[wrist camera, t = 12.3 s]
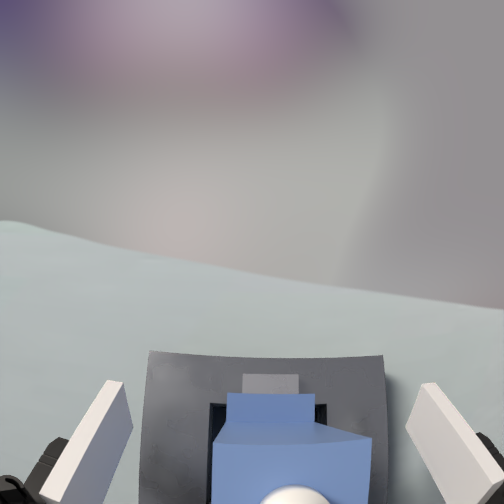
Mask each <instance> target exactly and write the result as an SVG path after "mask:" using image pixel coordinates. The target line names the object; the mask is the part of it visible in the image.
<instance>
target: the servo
mask: <svg viewBox="0 0 504 504" xmlns="http://www.w3.org/2000/svg"><path fill="white" fill-rule="evenodd" d="M314 419H315V394H248V393H227V411H226V422H225V424H224V426H223V427H222V429H221V431H220V432H219V434H218V436H217V437H216V439H215V440H214V442H213V458H212V496H211V504H368V494H369V482H370V468H371V448H372V438H370V437H366V436H362V435H358V434H354V433H350V432H347V431H343V430H340V429H336V428H333V427H329V426H326V425H323V424H319V423H316V422H314Z"/></svg>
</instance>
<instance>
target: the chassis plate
mask: <svg viewBox="0 0 504 504" xmlns="http://www.w3.org/2000/svg"><path fill="white" fill-rule="evenodd" d="M227 393H248V394H315V407H317V423H319V424H323V425H326V426H329V427H333V428H336V429H340V430H343V431H347V432H350V433H354V434H358V435H362V436H366V437H370V438H372V448H371V468H370V482H369V494H368V504H387V496H388V420H387V400H386V385H385V372H384V361H383V355H380V356H364V357H342V358H243V357H221V356H205V355H191V354H179V353H168V352H158V351H149V359H148V367H147V376H146V386H145V396H144V406H143V418H142V432H141V447H140V468H139V504H211V501H210V477H211V449H212V426H213V406H221V407H227Z"/></svg>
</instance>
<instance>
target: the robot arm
mask: <svg viewBox="0 0 504 504" xmlns="http://www.w3.org/2000/svg"><path fill="white" fill-rule="evenodd" d="M405 428H406V430H407V432H408V433H409V435H410V437H411V439H412V441H413V442H414V444H415V446H416V448H417V450H418V451H419V453H420V455H421V457H422V459H423V461H424V462H425V464H426V466H427V468H428V470H429V472H430V474H431V475H432V477H433V479H434V481H435V483H436V485H437V487H438V489H439V491H440V493H441V494H442V496H443V498H444V500H445V502H446V504H504V457H503V456H502V455H501V454H500V453H499V451H498V450H497V448H496V447H494V444H493V443H492V442H491V440H490V439H489V438H488V437H486V436H485V435H483V434H482V433H480V432H479V433H476V434H475V433H474V431H473V430H472V429H471V427H470V426H469V425H468V423H467V422H466V421H465V420H464V418H463V417H462V416H461V414H460V413H459V412H458V411H457V409H456V408H455V407H454V406H453V404H452V403H451V402H450V401H449V399H448V398H447V397H446V396H445V394H444V393H443V392H442V391H441V389H440V388H439V387H438V386H437V384H436V383H435V382H433V383H427V384H422V385H421V388H420V390H419V393H418V396H417V399H416V401H415V404H414V406H413V409H412V411H411V414H410V416H409V419H408V421H407V424H406V426H405ZM132 429H133V424H132V420H131V416H130V412H129V408H128V403H127V399H126V394H125V389H124V384H123V383H122V382H116V381H111V380H107V381H106V383H105V384H104V386H103V387H102V389H101V390H100V392H99V394H98V395H97V397H96V398H95V400H94V401H93V403H92V405H91V406H90V408H89V409H88V411H87V413H86V414H85V416H84V417H83V419H82V421H81V422H80V424H79V426H78V427H77V429H76V430H75V432H74V434H73V435H72V437H71V439H70V440H66V439H63V438H60V437H58V438H57V439H55V440H54V441H53V442H51V443H50V444H49V445H48V446H47V448H46V450H45V451H44V453H43V455H42V456H41V457H40V459H39V462H37V464H36V465H35V467H34V469H33V470H32V472H31V473H30V475H29V477H28V478H27V480H26V481H25V483H24V485H23V483H22V482H21V481H20V480H19V479H18V478H16V477H14V476H11V475H3V476H0V504H102V503H103V501H104V498H105V496H106V493H107V491H108V488H109V486H110V483H111V481H112V478H113V476H114V473H115V471H116V468H117V466H118V463H119V461H120V458H121V456H122V453H123V451H124V449H125V446H126V444H127V441H128V439H129V437H130V434H131V432H132Z"/></svg>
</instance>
